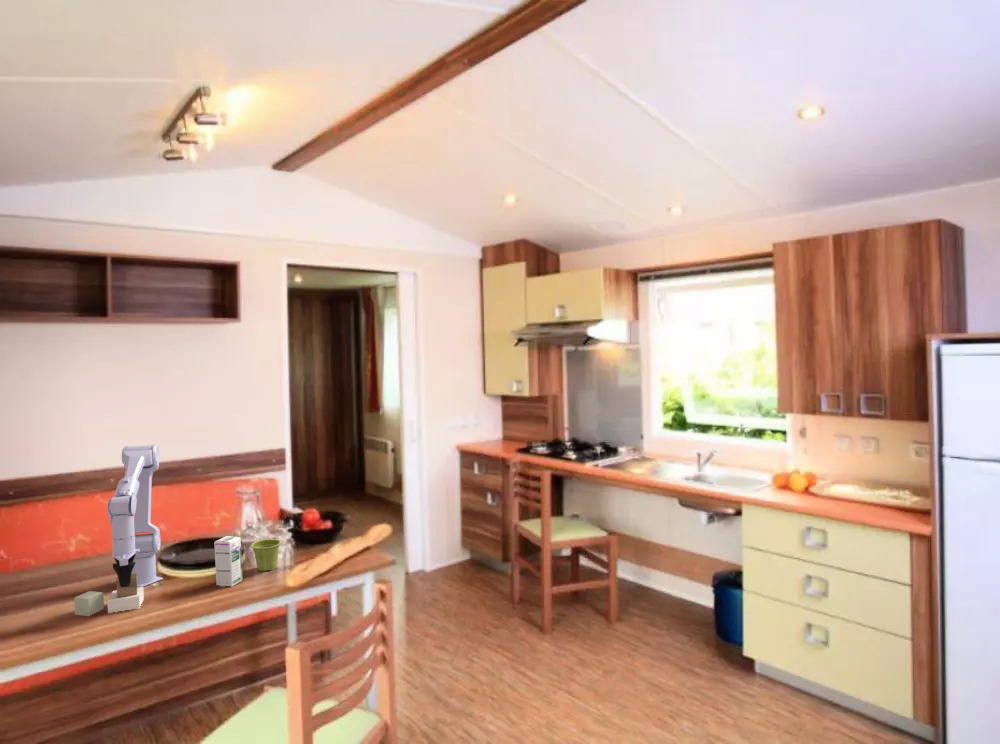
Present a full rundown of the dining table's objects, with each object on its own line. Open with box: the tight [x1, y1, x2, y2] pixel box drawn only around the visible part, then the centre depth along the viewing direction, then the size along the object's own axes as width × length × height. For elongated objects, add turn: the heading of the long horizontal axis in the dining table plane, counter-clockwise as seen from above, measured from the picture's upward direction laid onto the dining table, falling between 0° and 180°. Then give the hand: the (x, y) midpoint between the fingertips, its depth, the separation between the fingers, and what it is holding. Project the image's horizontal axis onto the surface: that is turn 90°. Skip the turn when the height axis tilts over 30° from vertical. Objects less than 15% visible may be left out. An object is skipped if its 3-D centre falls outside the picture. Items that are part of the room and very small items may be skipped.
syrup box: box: [214, 535, 244, 588], centre depth 206 cm, size 6×6×14 cm
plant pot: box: [250, 538, 282, 572], centre depth 219 cm, size 9×9×9 cm
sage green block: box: [73, 590, 105, 617], centre depth 185 cm, size 5×5×5 cm
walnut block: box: [115, 573, 138, 598], centre depth 189 cm, size 5×5×5 cm
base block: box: [106, 586, 145, 614], centre depth 189 cm, size 8×8×4 cm
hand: (125, 582), depth 189 cm, fingers open, 6 cm apart
